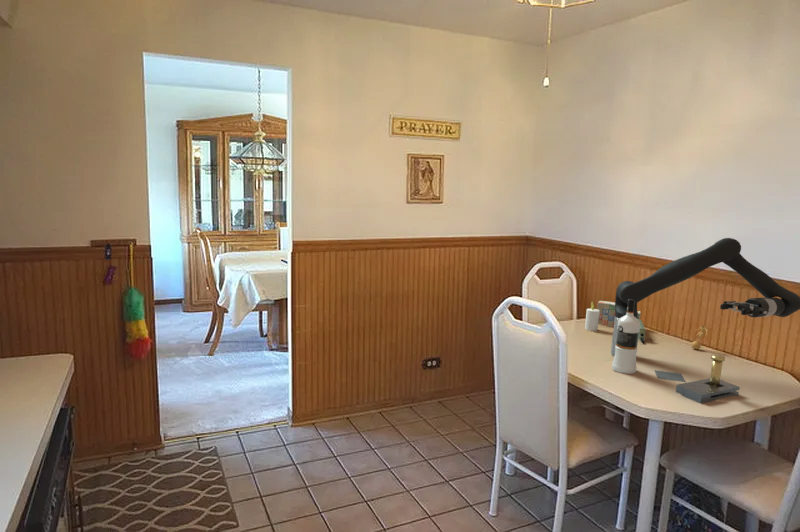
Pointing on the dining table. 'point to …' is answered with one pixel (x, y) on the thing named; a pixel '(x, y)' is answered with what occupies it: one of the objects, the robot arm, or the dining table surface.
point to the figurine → (696, 343)
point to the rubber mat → (669, 376)
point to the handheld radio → (641, 332)
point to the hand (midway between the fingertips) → (731, 309)
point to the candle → (592, 319)
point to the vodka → (627, 342)
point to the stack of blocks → (608, 313)
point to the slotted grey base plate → (706, 390)
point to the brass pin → (716, 370)
